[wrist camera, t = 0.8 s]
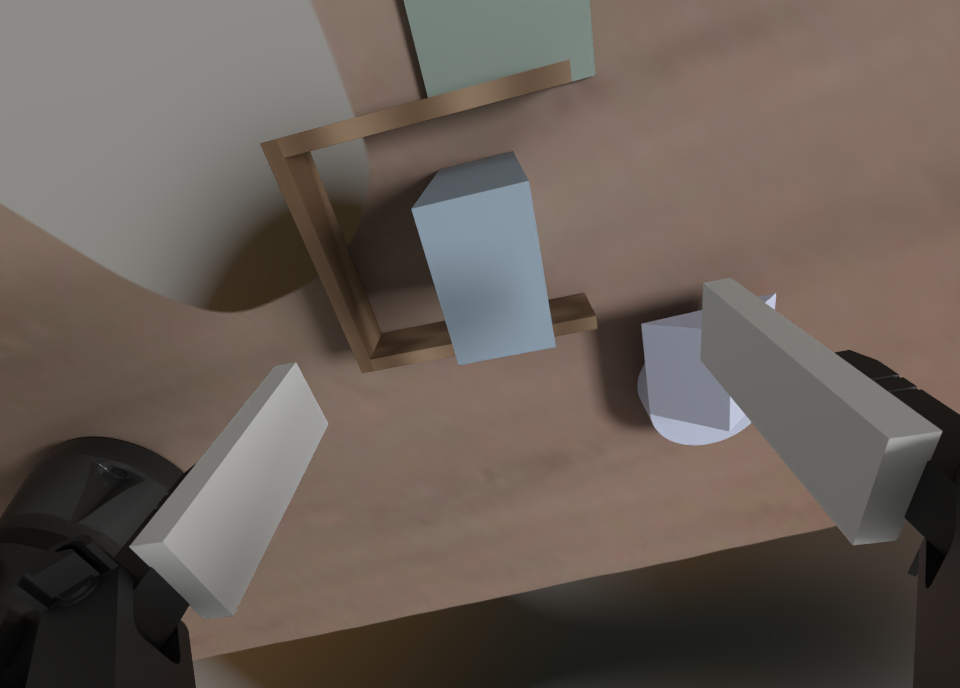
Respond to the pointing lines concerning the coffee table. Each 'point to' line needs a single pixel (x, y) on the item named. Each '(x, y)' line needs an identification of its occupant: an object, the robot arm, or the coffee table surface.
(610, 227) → the coffee table surface
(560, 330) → the shelf bay
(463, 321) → the block
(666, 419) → the wedge on round base
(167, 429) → the coffee table surface
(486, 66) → the felt pad
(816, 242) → the coffee table surface
